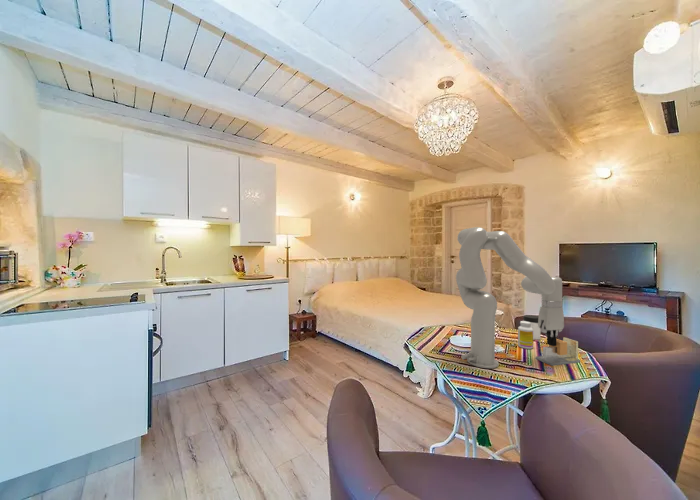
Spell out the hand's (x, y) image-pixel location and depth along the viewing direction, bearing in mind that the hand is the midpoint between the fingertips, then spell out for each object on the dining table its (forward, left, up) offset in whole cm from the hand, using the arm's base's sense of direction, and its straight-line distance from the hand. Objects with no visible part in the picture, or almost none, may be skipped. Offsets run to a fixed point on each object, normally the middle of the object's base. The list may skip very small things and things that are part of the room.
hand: (551, 344), depth 127 cm
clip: (+4, 0, -4) cm, 5 cm away
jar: (+21, +30, -8) cm, 38 cm away
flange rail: (+3, 0, -7) cm, 8 cm away
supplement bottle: (+4, +18, -8) cm, 20 cm away
